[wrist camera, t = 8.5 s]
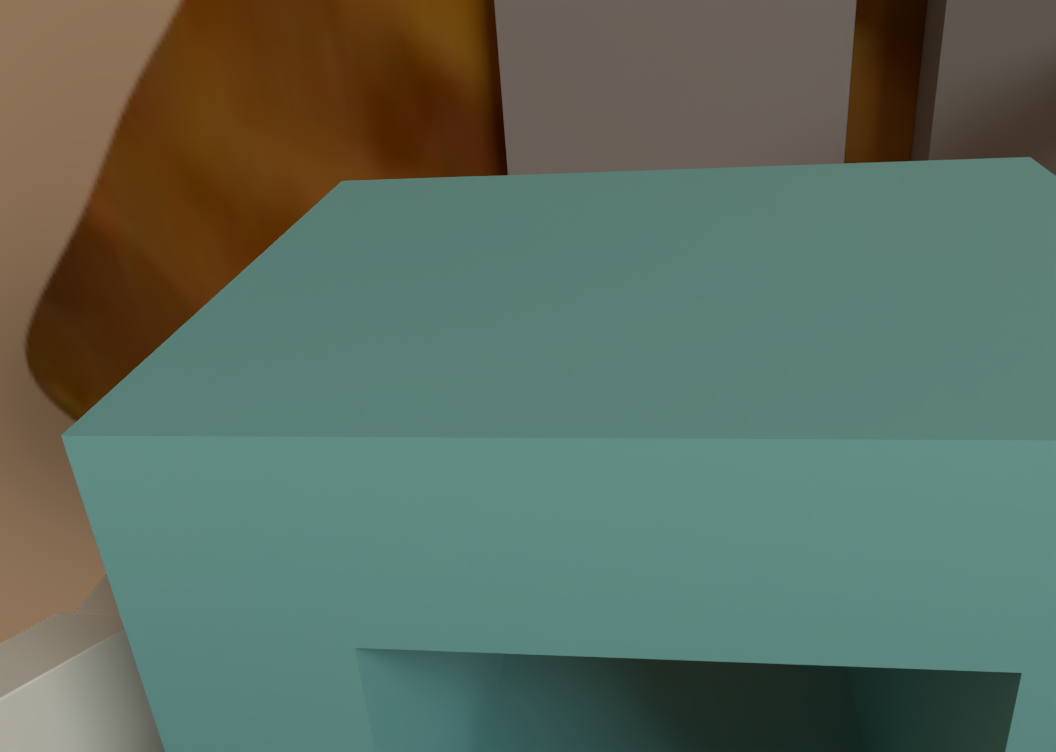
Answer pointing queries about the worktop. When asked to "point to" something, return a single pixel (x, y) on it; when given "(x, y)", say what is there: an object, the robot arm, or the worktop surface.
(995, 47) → the stand
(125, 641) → the robot arm
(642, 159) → the mat
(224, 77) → the worktop surface
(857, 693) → the collar
